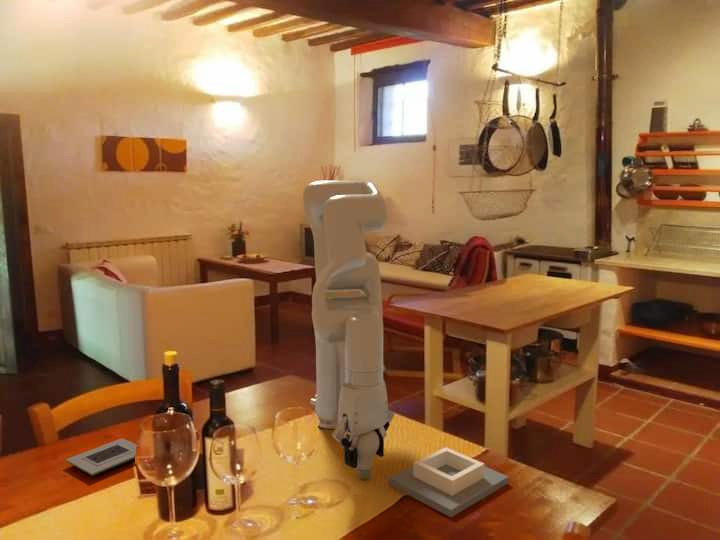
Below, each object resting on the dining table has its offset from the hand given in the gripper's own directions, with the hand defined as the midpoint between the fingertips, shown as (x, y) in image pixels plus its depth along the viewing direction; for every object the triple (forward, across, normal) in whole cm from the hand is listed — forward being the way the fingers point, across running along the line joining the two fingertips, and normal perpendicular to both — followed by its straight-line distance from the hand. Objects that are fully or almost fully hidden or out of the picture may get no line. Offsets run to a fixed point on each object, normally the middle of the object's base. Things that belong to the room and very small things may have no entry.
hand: (364, 459), depth 123 cm
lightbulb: (+4, 0, 0) cm, 4 cm away
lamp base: (+4, -11, +13) cm, 18 cm away
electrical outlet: (+5, +36, -43) cm, 56 cm away
